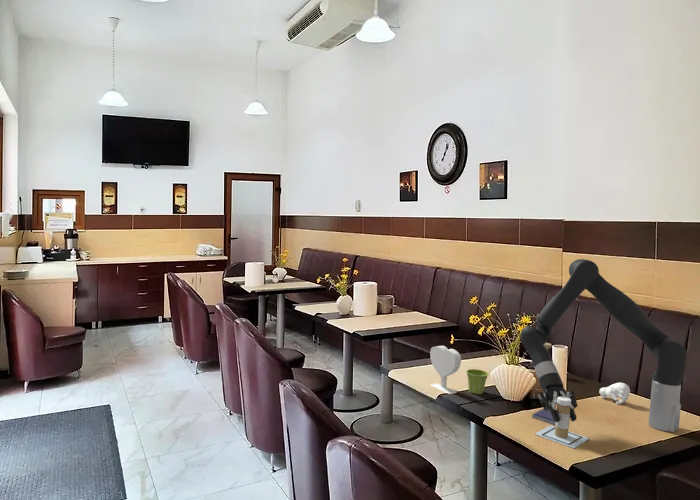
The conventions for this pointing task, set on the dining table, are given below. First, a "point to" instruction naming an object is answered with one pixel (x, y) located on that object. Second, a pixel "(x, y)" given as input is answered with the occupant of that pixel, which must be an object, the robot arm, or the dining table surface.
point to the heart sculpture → (445, 365)
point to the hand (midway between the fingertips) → (566, 420)
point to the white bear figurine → (616, 392)
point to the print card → (570, 441)
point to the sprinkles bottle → (563, 416)
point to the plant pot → (476, 380)
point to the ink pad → (544, 416)
